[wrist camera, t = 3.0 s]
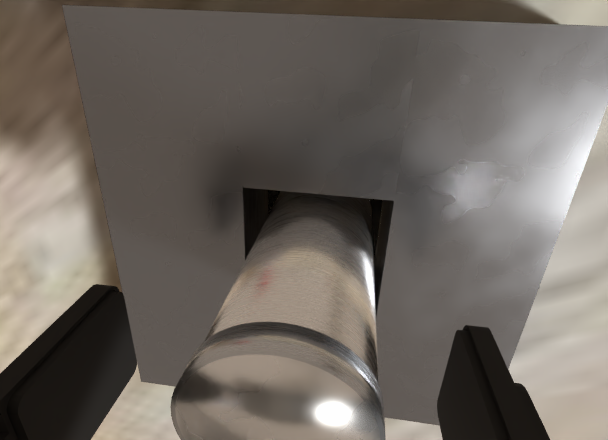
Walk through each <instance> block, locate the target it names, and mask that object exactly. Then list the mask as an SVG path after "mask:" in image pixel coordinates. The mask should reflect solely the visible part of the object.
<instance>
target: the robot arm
mask: <svg viewBox="0 0 608 440" xmlns="http://www.w3.org/2000/svg"><path fill="white" fill-rule="evenodd" d="M136 366H137V359H136V354H135V349H134V344H133V339H132V334H131V329H130V324H129V319H128V314H127V309H126V304H125V298H124V295H123V293H122V292H119V289H118V288H117V287H115V286H108V285H99V284H96V285H93V286H92V287H91V288H90V289H89V290H87V291H86V292H85V293H84V294H83V295H82V296H81V297H80V298H79V299H78V300H77V301H76V302H75V303H74V304H73V305H72V306H71V307H70V308H69V309H68V310H67V311H65V312H64V313H63V314H62V315H61V316H60V317H59V318H58V319H57V320H56V321H55V322H54V323H53V324H52V325H51V326H50V327H49V328H48V329H47V330H46V331H44V332H43V333H42V334H41V335H40V336H39V337H38V338H37V339H36V340H35V341H34V342H33V343H32V344H31V345H30V346H29V347H28V348H27V349H26V350H25V351H24V352H22V353H21V354H20V355H19V356H18V357H17V358H16V359H15V360H14V361H13V362H12V363H11V364H10V365H9V366H8V367H7V368H6V369H5V370H4V371H3V372H2V373H0V440H91V438H92V437H93V435H94V434H95V432H96V431H97V429H98V427H99V426H100V424H101V423H102V421H103V420H104V418H105V417H106V415H107V414H108V412H109V411H110V409H111V408H112V406H113V405H114V403H115V402H116V400H117V399H118V397H119V396H120V394H121V392H122V391H123V389H124V388H125V386H126V385H127V383H128V382H129V380H130V379H131V377H132V376H133V374H134V372H135V370H136ZM437 413H438V418H439V423H440V428H441V433H442V438H443V440H550V438H549V436H548V434H547V432H546V430H545V428H544V425H543V423H542V421H541V419H540V417H539V415H538V413H537V411H536V409H535V406H534V404H533V402H532V400H531V398H530V396H529V394H528V392H527V390H526V389H525V387H524V386H523V385H522V384H519V383H514V381H513V379H512V377H511V375H510V373H509V370H508V368H507V366H506V364H505V361H504V359H503V357H502V355H501V352H500V350H499V348H498V346H497V343H496V341H495V339H494V337H493V335H492V332H491V330H490V329H489V328H488V327H480V326H471V325H465V326H464V328H463V330H457V331H456V333H455V336H454V340H453V344H452V348H451V351H450V355H449V359H448V362H447V366H446V370H445V374H444V377H443V381H442V385H441V388H440V392H439V396H438V400H437Z"/></svg>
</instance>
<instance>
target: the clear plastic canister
mask: <svg viewBox="0 0 608 440" xmlns="http://www.w3.org/2000/svg"><path fill="white" fill-rule="evenodd" d="M171 416H172V420H173V424H174V427H175V429H176V431H177V434H178V435H179V437H180V439H181V440H385V421H384V403H383V395H382V392H381V388H380V385H379V383H378V364H377V338H376V312H375V287H374V261H373V235H372V211H371V204H370V200H369V199H368V198H357V197H345V196H334V195H323V194H311V193H300V192H289V191H281V192H280V194H279V196H278V197H277V199H276V201H275V203H274V205H273V207H272V209H271V211H270V213H269V215H268V217H267V219H266V221H265V223H264V225H263V227H262V229H261V231H260V233H259V235H258V237H257V239H256V241H255V243H254V245H253V247H252V249H251V251H250V253H249V254H248V256H247V258H246V260H245V262H244V264H243V266H242V268H241V270H240V272H239V274H238V276H237V278H236V280H235V282H234V284H233V286H232V288H231V290H230V292H229V294H228V296H227V298H226V300H225V302H224V304H223V306H222V308H221V310H220V311H219V313H218V315H217V317H216V319H215V321H214V323H213V325H212V327H211V329H210V331H209V333H208V335H207V337H206V339H205V341H204V342H203V343H202V344H201V345H200V346H199V347H198V348H197V349H196V351H195V352H194V354H193V355H192V357H191V359H190V361H189V363H188V364H187V366H186V368H185V370H184V372H183V374H182V376H181V378H180V380H179V382H178V384H177V385H176V387H175V389H174V392H173V396H172V400H171Z"/></svg>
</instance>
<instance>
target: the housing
mask: <svg viewBox="0 0 608 440" xmlns="http://www.w3.org/2000/svg"><path fill="white" fill-rule="evenodd" d="M62 8H63V12H64V17H65V22H66V26H67V31H68V36H69V41H70V45H71V50H72V55H73V60H74V64H75V69H76V74H77V79H78V83H79V88H80V93H81V98H82V102H83V107H84V112H85V117H86V121H87V126H88V131H89V136H90V140H91V145H92V150H93V155H94V159H95V164H96V169H97V174H98V178H99V183H100V188H101V193H102V197H103V202H104V207H105V212H106V216H107V221H108V226H109V231H110V235H111V240H112V245H113V250H114V254H115V259H116V264H117V268H118V273H119V278H120V283H121V287H122V292H123V295H124V298H125V304H126V309H127V314H128V319H129V324H130V329H131V334H132V339H133V344H134V349H135V354H136V359H137V363H138V368H139V373H140V378H141V382H148V383H155V384H162V385H168V386H175V387H176V385H177V384H178V382H179V380H180V378H181V376H182V374H183V372H184V370H185V368H186V366H187V364H188V363H189V361H190V359H191V357H192V355H193V354H194V352H195V351H196V349H197V348H198V347H199V346H200V345H201V344H202V343H203V342H204V341H205V339H206V337H207V335H208V333H209V331H210V329H211V327H212V325H213V323H214V321H215V319H216V317H217V315H218V313H219V311H220V310H221V308H222V306H223V304H224V302H225V300H226V298H227V296H228V294H229V292H230V290H231V288H232V286H233V284H234V282H235V280H236V278H237V276H238V274H239V272H240V270H241V268H242V266H243V264H244V262H245V260H246V258H247V256H248V254H249V253H250V251H251V249H252V247H253V245H254V243H255V241H256V239H257V237H258V235H259V233H260V231H261V229H262V227H263V225H264V223H265V221H266V219H267V217H268V190H277V191H289V192H300V193H311V194H323V195H334V196H345V197H357V198H368V199H379V200H383V201H382V209H381V216H380V223H379V230H378V237H377V245H376V252H375V259H374V287H375V312H376V338H377V364H378V383H379V385H380V388H381V392H382V395H383V403H384V417H386V418H393V419H400V420H407V421H414V422H420V423H427V424H434V425H440V423H439V418H438V413H437V400H438V396H439V392H440V388H441V385H442V381H443V377H444V374H445V370H446V366H447V362H448V359H449V355H450V351H451V348H452V344H453V340H454V336H455V333H456V331H457V330H463V328H464V326H465V325H471V326H480V327H488V328H489V329H490V330H491V332H492V335H493V337H494V339H495V341H496V343H497V346H498V348H499V350H500V352H501V355H502V357H503V359H504V361H505V364H506V366H507V368H509V366H510V363H511V360H512V358H513V355H514V352H515V350H516V347H517V344H518V342H519V339H520V336H521V334H522V331H523V328H524V326H525V323H526V320H527V318H528V315H529V312H530V310H531V307H532V304H533V302H534V299H535V296H536V294H537V291H538V288H539V286H540V283H541V280H542V278H543V275H544V272H545V270H546V267H547V264H548V262H549V259H550V257H551V254H552V251H553V249H554V246H555V243H556V241H557V238H558V235H559V233H560V230H561V227H562V225H563V222H564V219H565V217H566V214H567V211H568V209H569V206H570V203H571V201H572V198H573V195H574V193H575V190H576V187H577V185H578V182H579V179H580V177H581V174H582V171H583V169H584V166H585V163H586V161H587V158H588V155H589V153H590V150H591V147H592V145H593V142H594V139H595V137H596V134H597V131H598V129H599V126H600V123H601V121H602V118H603V115H604V113H605V110H606V108H607V105H608V26H587V25H561V24H536V23H510V22H484V21H459V20H433V19H408V18H382V17H357V16H331V15H306V14H280V13H254V12H229V11H203V10H178V9H152V8H127V7H101V6H75V5H62Z"/></svg>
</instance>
